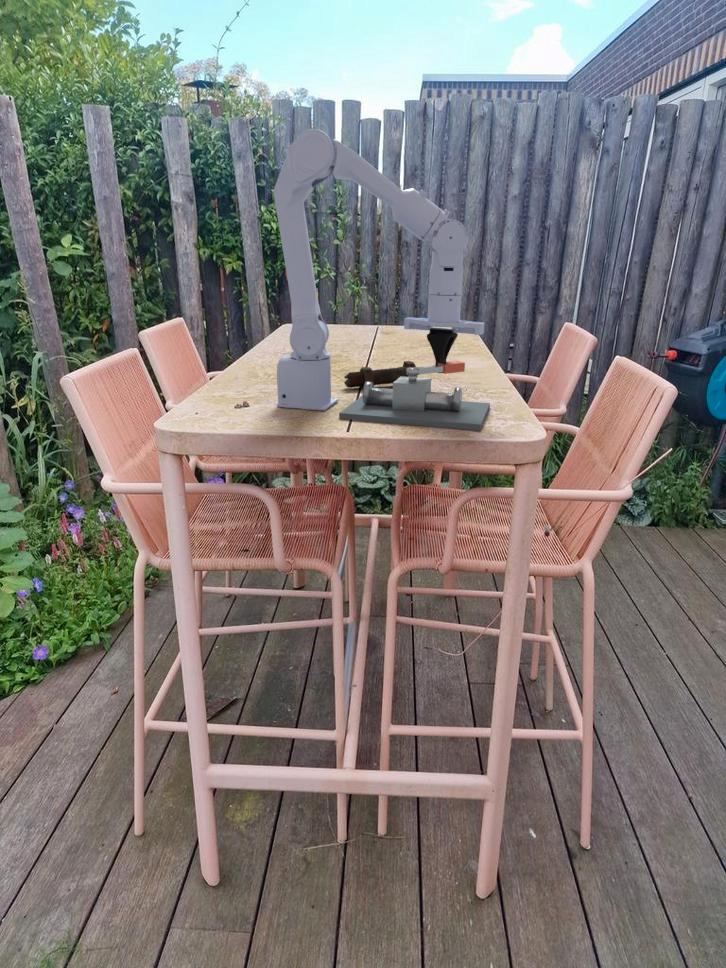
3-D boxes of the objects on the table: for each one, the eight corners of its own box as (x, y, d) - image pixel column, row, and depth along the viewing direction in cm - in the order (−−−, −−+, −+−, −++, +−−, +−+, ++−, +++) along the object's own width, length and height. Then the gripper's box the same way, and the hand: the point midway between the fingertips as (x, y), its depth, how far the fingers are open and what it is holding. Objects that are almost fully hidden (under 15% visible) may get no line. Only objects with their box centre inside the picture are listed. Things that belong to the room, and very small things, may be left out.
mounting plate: (339, 418, 102) (339, 412, 101) (364, 398, 115) (364, 393, 115) (480, 430, 95) (480, 424, 95) (489, 408, 109) (490, 403, 108)
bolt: (345, 397, 125) (411, 390, 129) (351, 390, 120) (419, 383, 124) (340, 371, 125) (406, 364, 129) (346, 362, 120) (414, 356, 125)
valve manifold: (361, 407, 105) (361, 374, 103) (370, 400, 110) (370, 369, 108) (457, 415, 100) (459, 381, 98) (461, 407, 105) (463, 374, 103)
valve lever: (410, 377, 102) (411, 368, 101) (403, 375, 103) (404, 366, 103) (464, 371, 107) (465, 362, 106) (456, 369, 109) (457, 360, 108)
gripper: (397, 293, 103) (395, 371, 109) (476, 298, 97) (470, 380, 102) (415, 291, 109) (412, 365, 114) (490, 295, 102) (484, 373, 108)
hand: (440, 372), depth 108 cm, fingers closed, pressing on valve lever
